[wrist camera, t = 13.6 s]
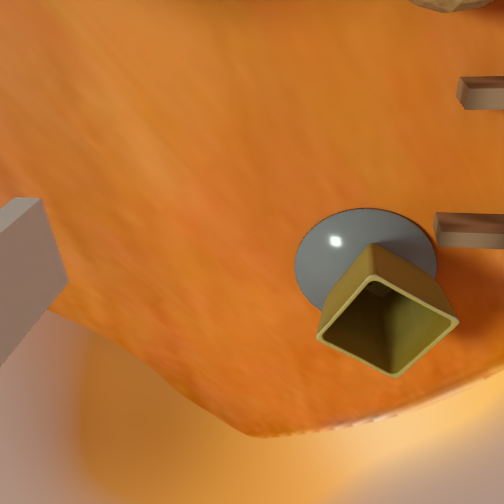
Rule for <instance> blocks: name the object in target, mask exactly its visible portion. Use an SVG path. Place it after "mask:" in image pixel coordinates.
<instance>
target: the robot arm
mask: <svg viewBox="0 0 504 504" xmlns="http://www.w3.org/2000/svg"><path fill="white" fill-rule="evenodd" d="M68 283H69V280H68V277H67V274H66V271H65V268H64V265H63V262H62V259H61V256H60V253H59V250H58V247H57V244H56V241H55V238H54V235H53V232H52V229H51V226H50V223H49V220H48V217H47V214H46V211H45V208H44V205H43V202H42V199H41V198H21V197H15V198H13V199H12V200H11V201H10V202H8V203H7V204H6V205H4V206H3V207H2V208H1V209H0V367H1V366H2V364H3V363H4V362H5V361H6V359H7V358H8V357H9V356H10V354H11V353H12V352H13V351H14V349H15V348H16V347H17V346H18V344H19V343H20V342H21V341H22V339H23V338H24V337H25V336H26V334H27V333H28V332H29V331H30V330H31V328H32V327H33V326H34V325H35V323H36V322H37V321H38V320H39V319H40V317H41V316H42V315H43V314H44V312H45V311H46V310H47V309H48V307H49V306H50V305H51V304H52V302H53V301H54V300H55V299H56V297H57V296H58V295H59V294H60V292H61V291H62V290H63V289H64V288H65V286H66V285H67V284H68Z"/></svg>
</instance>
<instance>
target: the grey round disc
mask: <svg viewBox="0 0 504 504" xmlns="http://www.w3.org/2000/svg"><path fill="white" fill-rule="evenodd" d="M370 243H375V244H377V245H379V246H381V247H383V248H384V249H386V250H388V251H390V252H392V253H394V254H395V255H397V256H399V257H401V258H403V259H405V260H407V261H408V262H410V263H412V264H414V265H416V266H417V267H419V268H421V269H422V270H424V271H425V272H427V273H428V274H429V275H430V276H432V277H433V278H434V279H435V277H436V271H437V260H436V255H435V251H434V248H433V246H432V244H431V242H430V240H429V238H428V237H427V235H426V234H425V233H424V232H423V231H422V229H421V228H419V227H418V226H417V225H416V224H415V223H413V222H412V221H410V220H409V219H407V218H405V217H403V216H401V215H399V214H397V213H394V212H391V211H387V210H382V209H375V208H357V209H350V210H346V211H342V212H339V213H336V214H334V215H331V216H329V217H327V218H325V219H324V220H322V221H321V222H319V223H318V224H316V225H315V226H314V227H313V228H312V229H311V230H310V231H309V232H308V233H307V234H306V236H305V237H304V238H303V240H302V242H301V243H300V246H299V248H298V250H297V254H296V259H295V275H296V279H297V282H298V285H299V287H300V289H301V291H302V292H303V294H304V295H305V297H306V298H307V299H308V300H309V301H310V302H311V303H312V304H313V305H314V306H315V307H317V308H318V309H319V310H321V311H322V310H323V306H324V303H325V300H326V298H327V296H328V294H329V292H330V290H331V289H332V288H333V286H334V285H335V284H336V282H337V281H338V280H339V279H340V278H341V277H342V275H343V274H344V273H345V272H346V271H347V269H348V268H349V267H350V266H351V265H352V263H353V262H354V261H355V260H356V259H357V257H358V256H359V255H360V254H361V252H362V251H363V250H364V249H365V248H366V246H367V245H369V244H370ZM370 283H371V282H369V283H368V284H370Z"/></svg>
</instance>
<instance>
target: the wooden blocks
mask: <svg viewBox="0 0 504 504" xmlns="http://www.w3.org/2000/svg"><path fill="white" fill-rule="evenodd" d="M456 97H457V98H458V100H459V101H460V103H461V104H462V106H463V107H464V109H465V110H477V109H504V76H493V77H460V79H459V84H458V90H457V96H456ZM433 228H434V231H435V235H436V238H437V242H438V245H439V247H461V248H485V249H504V215H502V214H470V213H437V212H436V213H435V219H434V224H433Z"/></svg>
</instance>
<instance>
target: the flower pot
mask: <svg viewBox="0 0 504 504" xmlns="http://www.w3.org/2000/svg"><path fill="white" fill-rule="evenodd" d="M369 282H371V283H370V284H368V283H369ZM458 324H459V320H458V318H457V316H456V314H455V312H454V310H453V308H452V306H451V304H450V302H449V300H448V299H447V297H446V295H445V293H444V291H443V290H442V288H441V286H440V285H439V284H438V283H437V281H436V280H435V279H434V278H433V277H432V276H430V275H429V274H428V273H427V272H425V271H424V270H422V269H421V268H419V267H417V266H416V265H414V264H412V263H410V262H408V261H407V260H405V259H403V258H401V257H399V256H397V255H395V254H394V253H392V252H390V251H388V250H386V249H384V248H383V247H381V246H379V245H377V244H375V243H370V244H369V245H367V246H366V248H365V249H364V250H363V251H362V252H361V254H360V255H359V256H358V257H357V259H356V260H355V261H354V262H353V263H352V265H351V266H350V267H349V268H348V269H347V271H346V272H345V273H344V274H343V275H342V277H341V278H340V279H339V280H338V281H337V282H336V284H335V285H334V286H333V288H332V289H331V290H330V292H329V294H328V296H327V298H326V300H325V303H324V306H323V310H322V314H321V318H320V322H319V327H318V331H317V336H316V339H317V340H318V341H320V342H321V343H324V344H325V345H328V346H330V347H332V348H334V349H336V350H338V351H340V352H342V353H344V354H347V355H349V356H351V357H353V358H355V359H357V360H359V361H361V362H363V363H365V364H366V365H368V366H370V367H372V368H374V369H376V370H377V371H379V372H381V373H383V374H385V375H387V376H390V377H393V378H398V377H400V376H401V375H402V374H403V373H404V372H405V371H406V370H408V369H409V368H410V367H411V366H412V365H413V364H414V363H415V362H416V361H417V360H419V359H420V358H421V357H422V356H423V355H424V354H425V353H427V352H428V351H429V350H430V349H431V348H432V347H433V346H435V345H436V344H437V343H438V342H439V341H440V340H441V339H443V338H444V337H445V336H446V335H447V334H448V333H449V332H451V331H452V330H453V329H454V328H455V327H456V326H457V325H458Z"/></svg>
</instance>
